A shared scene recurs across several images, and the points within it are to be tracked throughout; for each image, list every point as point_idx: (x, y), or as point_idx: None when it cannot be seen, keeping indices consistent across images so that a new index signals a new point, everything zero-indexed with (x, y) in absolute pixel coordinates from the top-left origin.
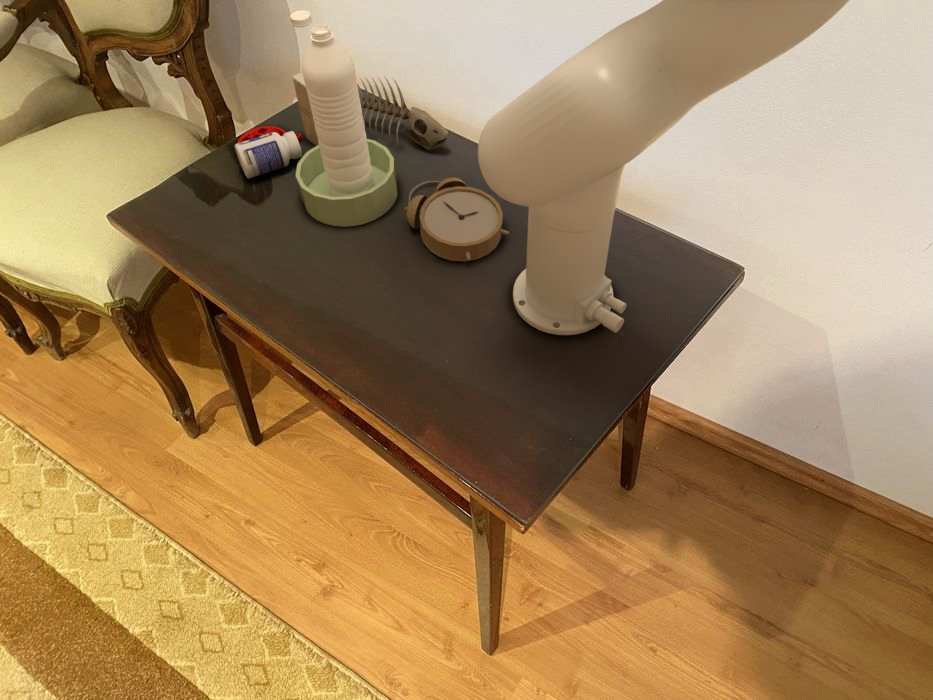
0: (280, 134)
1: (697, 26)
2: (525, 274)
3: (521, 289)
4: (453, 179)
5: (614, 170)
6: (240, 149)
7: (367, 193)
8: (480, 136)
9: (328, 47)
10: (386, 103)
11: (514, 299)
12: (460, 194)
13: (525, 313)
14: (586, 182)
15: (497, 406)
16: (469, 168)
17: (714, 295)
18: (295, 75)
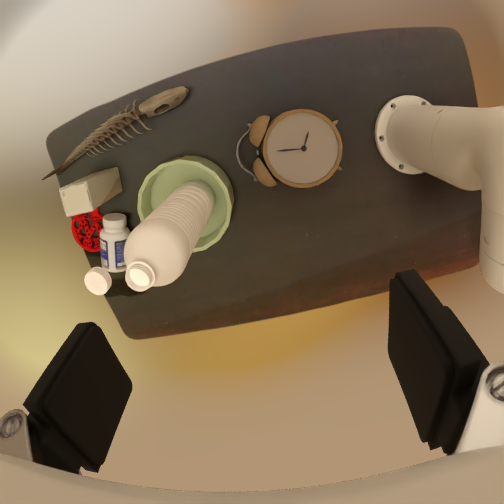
0: (86, 214)
1: None
2: (382, 143)
3: (391, 157)
4: (262, 129)
5: None
6: (114, 270)
7: (230, 210)
8: (500, 291)
9: (158, 272)
10: (116, 127)
11: (395, 168)
12: (276, 130)
13: (410, 172)
14: None
15: (438, 233)
16: (224, 85)
17: (465, 57)
18: (67, 213)
